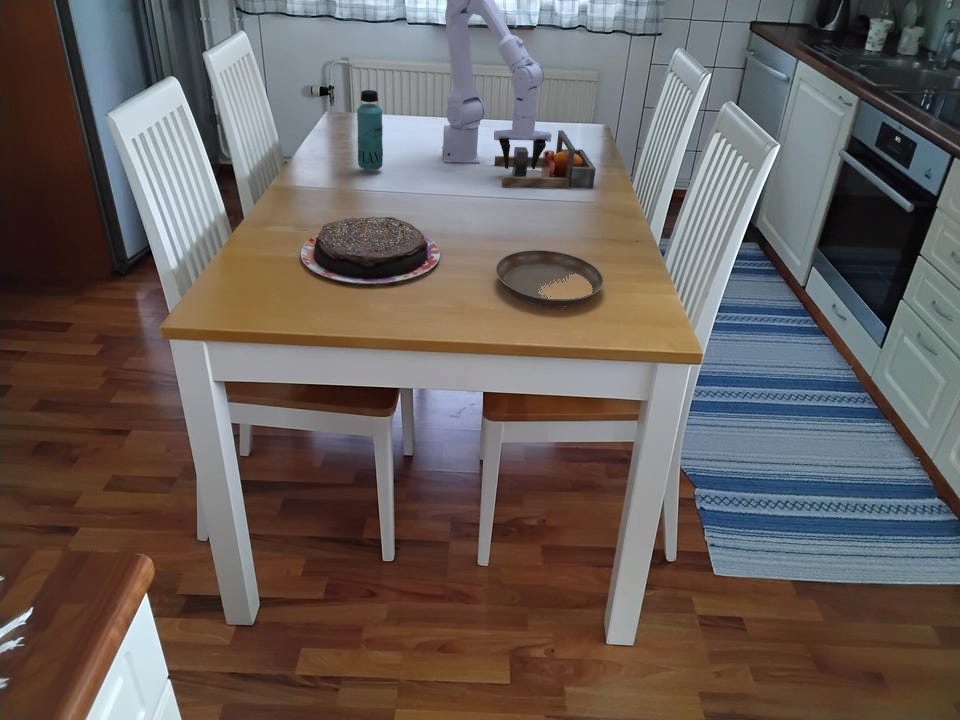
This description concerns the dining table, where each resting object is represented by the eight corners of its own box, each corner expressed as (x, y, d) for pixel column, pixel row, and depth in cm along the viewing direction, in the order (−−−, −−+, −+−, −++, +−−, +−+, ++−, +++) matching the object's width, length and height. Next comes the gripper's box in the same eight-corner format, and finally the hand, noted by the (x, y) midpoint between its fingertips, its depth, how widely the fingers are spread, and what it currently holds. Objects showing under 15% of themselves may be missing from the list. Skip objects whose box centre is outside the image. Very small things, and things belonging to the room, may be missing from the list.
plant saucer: (613, 279, 150) (616, 264, 148) (583, 325, 134) (585, 308, 132) (517, 256, 156) (519, 241, 154) (477, 297, 140) (478, 281, 138)
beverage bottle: (353, 173, 191) (351, 92, 180) (363, 165, 196) (361, 86, 185) (378, 177, 190) (376, 95, 179) (387, 169, 195) (386, 89, 184)
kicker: (516, 182, 192) (518, 155, 188) (510, 169, 201) (512, 143, 197) (555, 183, 194) (558, 156, 190) (548, 170, 202) (551, 144, 198)
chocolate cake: (373, 219, 168) (373, 191, 165) (468, 258, 154) (470, 228, 150) (271, 256, 150) (268, 225, 146) (368, 305, 135) (367, 272, 132)
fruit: (545, 176, 194) (552, 145, 193) (550, 183, 201) (557, 153, 201) (575, 181, 191) (582, 150, 191) (579, 188, 199) (586, 158, 199)
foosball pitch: (502, 187, 189) (505, 147, 183) (494, 164, 203) (497, 127, 198) (593, 189, 192) (599, 150, 186) (579, 166, 206) (584, 130, 200)
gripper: (497, 118, 184) (493, 172, 191) (555, 120, 186) (549, 173, 193) (494, 110, 190) (490, 163, 197) (550, 112, 191) (545, 164, 199)
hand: (519, 167), depth 195 cm, fingers open, 6 cm apart
